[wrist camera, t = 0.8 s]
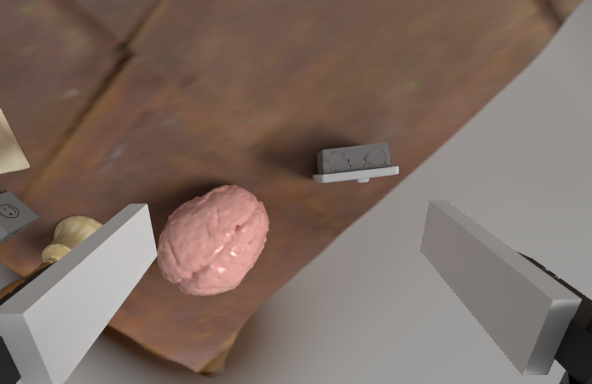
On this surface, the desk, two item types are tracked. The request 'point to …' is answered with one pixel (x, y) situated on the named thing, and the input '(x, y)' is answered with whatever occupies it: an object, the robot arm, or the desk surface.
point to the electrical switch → (354, 163)
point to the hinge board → (10, 149)
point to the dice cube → (13, 216)
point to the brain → (213, 240)
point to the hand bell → (61, 243)
